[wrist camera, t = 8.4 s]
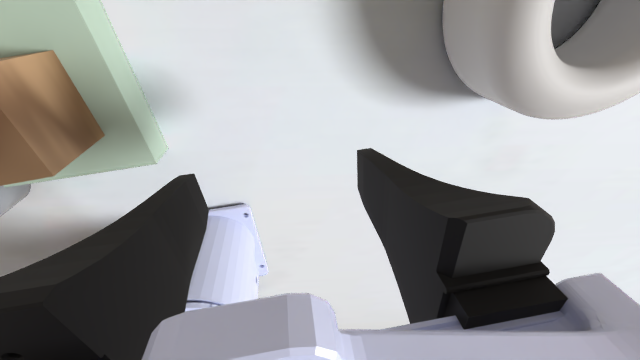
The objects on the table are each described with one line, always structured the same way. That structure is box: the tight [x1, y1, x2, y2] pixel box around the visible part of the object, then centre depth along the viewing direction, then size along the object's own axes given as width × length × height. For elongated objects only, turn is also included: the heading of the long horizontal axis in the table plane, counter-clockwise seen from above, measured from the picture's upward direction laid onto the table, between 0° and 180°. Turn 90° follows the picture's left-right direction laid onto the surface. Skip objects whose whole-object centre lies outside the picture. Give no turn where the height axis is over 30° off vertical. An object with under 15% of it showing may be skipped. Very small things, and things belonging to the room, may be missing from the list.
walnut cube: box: [0, 50, 105, 186], centre depth 14 cm, size 5×5×5 cm
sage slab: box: [0, 0, 168, 187], centre depth 17 cm, size 10×10×3 cm
